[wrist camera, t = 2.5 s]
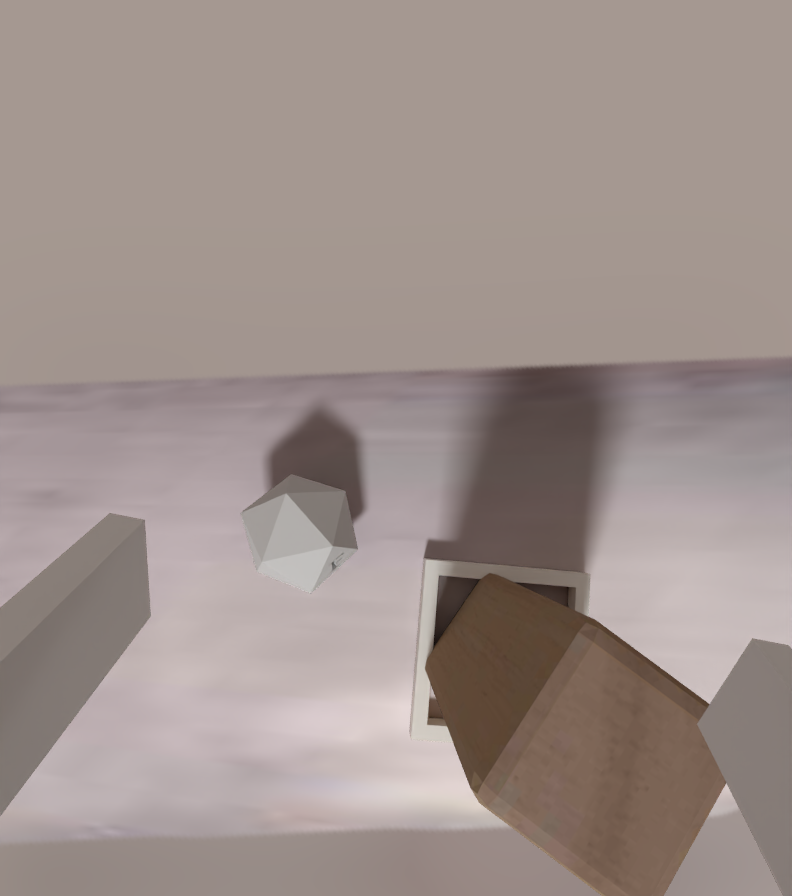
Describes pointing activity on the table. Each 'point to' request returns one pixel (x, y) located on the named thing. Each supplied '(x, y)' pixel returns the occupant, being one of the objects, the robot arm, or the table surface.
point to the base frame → (432, 569)
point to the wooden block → (574, 737)
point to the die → (300, 532)
